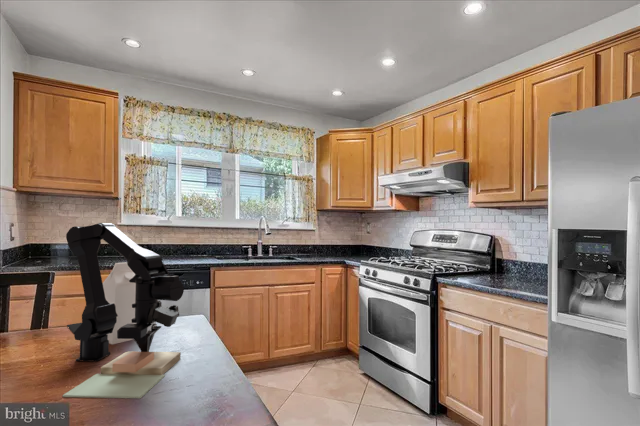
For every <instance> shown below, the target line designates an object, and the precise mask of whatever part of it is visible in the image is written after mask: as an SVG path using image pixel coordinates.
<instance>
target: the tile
mask: <svg viewBox="0 0 640 426" xmlns="http://www.w3.org/2000/svg"><path fill="white" fill-rule="evenodd" d="M154 352H155V351H149V352H141V351H138V352H136V351H133V352H131V353H130V354H128V355H126V356H125V357H123V358H121V359H120V360H118V361H116V362H115V363H113V365H112V372H137V371H138V370H139V369H141V368H142V367H144V366H145V365H146V364H148V363H149V362H151V361H152V360H154Z"/></svg>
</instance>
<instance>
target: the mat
mask: <svg viewBox="0 0 640 426" xmlns="http://www.w3.org/2000/svg"><path fill="white" fill-rule="evenodd" d="M165 377H166V376H165V374H163V375H135V374H101V373H96V374H94V375H92V376H90V377H89V378H87V379H86V380H84V381H82V382H81V383H80V384H78V385H76V386H75V387H73V388H72V389H70V390H69V391H68V390H67V392H65V393H63V394H62V398H95V399H96V398H97V399H99V398H100V399H101V398H102V399H104V398H106V399H142V398H143V397H144V396H145V395H146V394H147V393H149V392H150V391H151V390H152V389H153V387H155V386H156V385H157V384H158V383H159V382H160V381H162V380H163V379H164V378H165Z"/></svg>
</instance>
